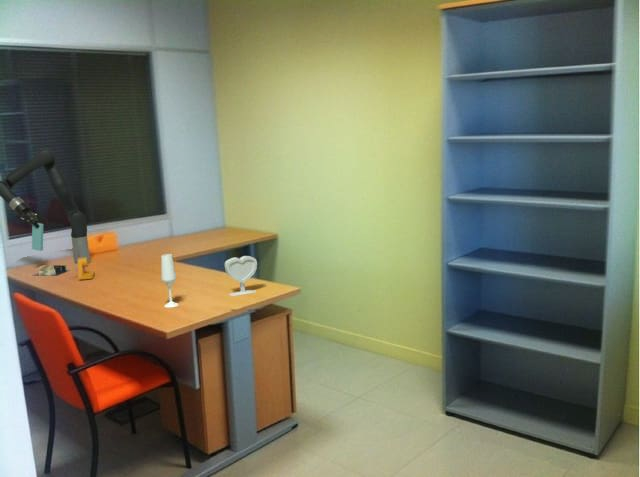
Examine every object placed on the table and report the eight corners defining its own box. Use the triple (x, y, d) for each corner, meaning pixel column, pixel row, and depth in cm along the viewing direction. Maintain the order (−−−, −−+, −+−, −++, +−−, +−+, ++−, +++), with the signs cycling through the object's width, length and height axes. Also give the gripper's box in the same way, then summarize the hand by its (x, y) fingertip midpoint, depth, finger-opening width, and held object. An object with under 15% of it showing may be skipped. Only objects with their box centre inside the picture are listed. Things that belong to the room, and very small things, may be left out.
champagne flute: (161, 307, 286) (156, 256, 281) (169, 302, 292) (164, 253, 287) (173, 307, 283) (168, 257, 279) (181, 303, 289) (177, 253, 285)
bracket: (92, 279, 344) (90, 258, 342) (79, 281, 343) (76, 260, 341) (95, 275, 355) (92, 255, 353) (82, 276, 353) (79, 256, 351)
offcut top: (39, 271, 355) (39, 266, 355) (43, 269, 359) (42, 265, 358) (50, 271, 354) (50, 266, 354) (54, 269, 358) (53, 265, 357)
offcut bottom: (39, 275, 356) (38, 271, 356) (43, 273, 360) (43, 269, 359) (51, 275, 354) (50, 271, 354) (55, 273, 358) (55, 269, 357)
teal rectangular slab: (31, 249, 365) (32, 222, 361) (34, 248, 366) (34, 222, 363) (40, 250, 363) (41, 224, 360) (42, 250, 365) (43, 224, 362)
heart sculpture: (229, 296, 298) (226, 260, 294) (226, 294, 302) (223, 258, 299) (259, 291, 304) (257, 256, 301) (255, 289, 309) (253, 254, 305)
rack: (32, 277, 356) (31, 270, 355) (47, 271, 369) (46, 265, 368) (56, 278, 352) (55, 271, 351) (70, 272, 365) (70, 265, 364)
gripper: (14, 203, 354) (35, 224, 354) (30, 200, 367) (51, 220, 367) (7, 212, 357) (28, 233, 356) (24, 209, 370) (44, 229, 369)
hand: (39, 226), depth 361 cm, fingers closed on teal rectangular slab, 1 cm apart
